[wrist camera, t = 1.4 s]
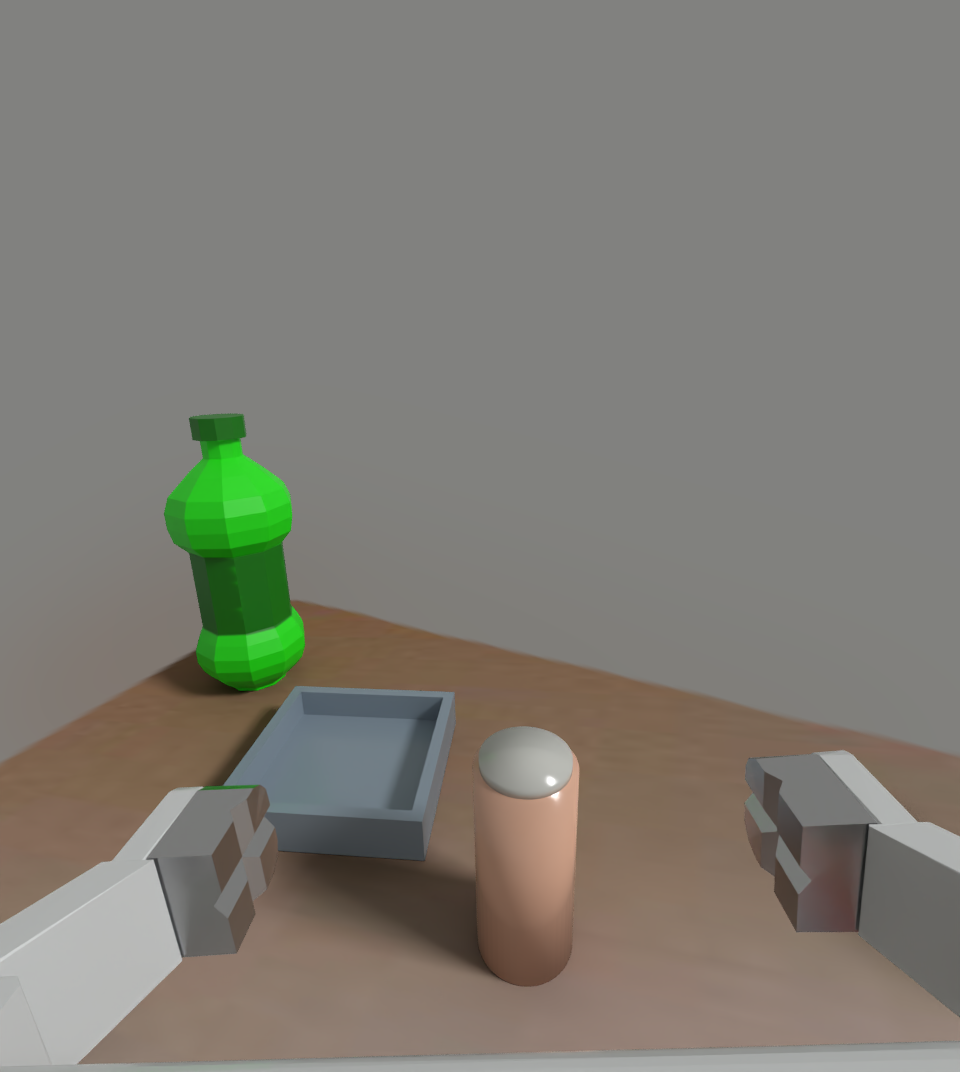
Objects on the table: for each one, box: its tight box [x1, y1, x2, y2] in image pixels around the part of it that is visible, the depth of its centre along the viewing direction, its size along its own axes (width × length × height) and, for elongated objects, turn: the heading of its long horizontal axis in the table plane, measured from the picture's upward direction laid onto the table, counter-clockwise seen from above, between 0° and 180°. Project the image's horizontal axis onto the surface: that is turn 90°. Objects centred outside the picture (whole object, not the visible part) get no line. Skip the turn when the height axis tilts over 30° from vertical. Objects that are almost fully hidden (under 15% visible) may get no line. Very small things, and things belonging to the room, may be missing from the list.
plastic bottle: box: [164, 414, 305, 691], centre depth 51 cm, size 10×10×25 cm
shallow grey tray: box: [223, 686, 456, 861], centre depth 41 cm, size 14×14×3 cm
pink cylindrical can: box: [472, 727, 579, 986], centre depth 28 cm, size 5×5×12 cm
